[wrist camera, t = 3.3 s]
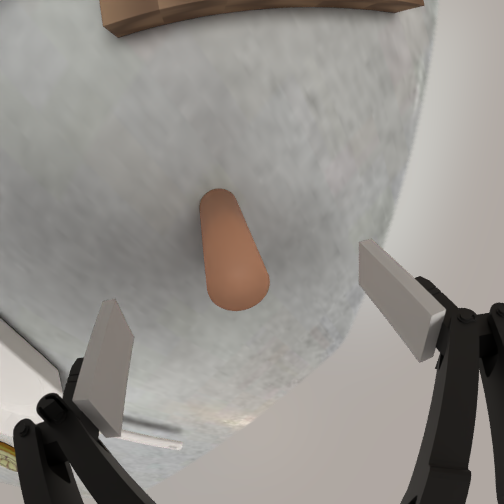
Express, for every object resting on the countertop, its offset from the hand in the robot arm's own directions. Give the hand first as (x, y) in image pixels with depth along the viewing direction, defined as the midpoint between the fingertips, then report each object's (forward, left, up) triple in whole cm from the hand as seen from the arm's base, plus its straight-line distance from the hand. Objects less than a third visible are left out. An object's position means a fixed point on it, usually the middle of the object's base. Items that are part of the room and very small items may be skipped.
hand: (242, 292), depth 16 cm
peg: (0, 0, -12) cm, 12 cm away
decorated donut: (-57, -39, -13) cm, 70 cm away
